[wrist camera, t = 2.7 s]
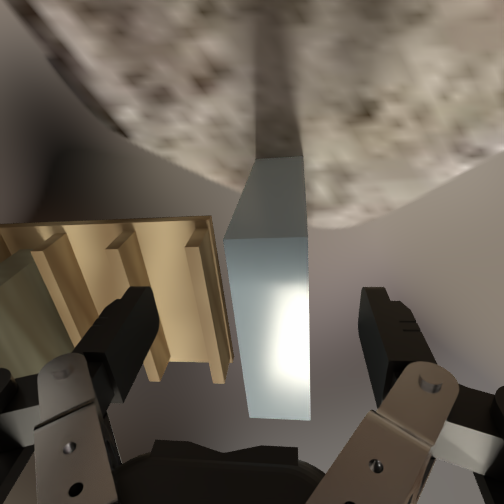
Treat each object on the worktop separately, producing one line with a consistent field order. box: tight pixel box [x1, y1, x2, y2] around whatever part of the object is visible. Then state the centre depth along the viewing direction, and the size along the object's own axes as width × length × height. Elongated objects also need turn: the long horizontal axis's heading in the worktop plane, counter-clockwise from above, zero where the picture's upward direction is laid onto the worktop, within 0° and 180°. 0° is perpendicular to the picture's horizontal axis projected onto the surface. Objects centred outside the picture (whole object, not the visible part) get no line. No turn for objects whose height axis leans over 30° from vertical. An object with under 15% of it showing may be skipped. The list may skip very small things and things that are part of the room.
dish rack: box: [0, 216, 234, 383], centre depth 19 cm, size 14×11×9 cm
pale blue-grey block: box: [223, 156, 310, 420], centre depth 16 cm, size 2×8×9 cm, turn 5°
